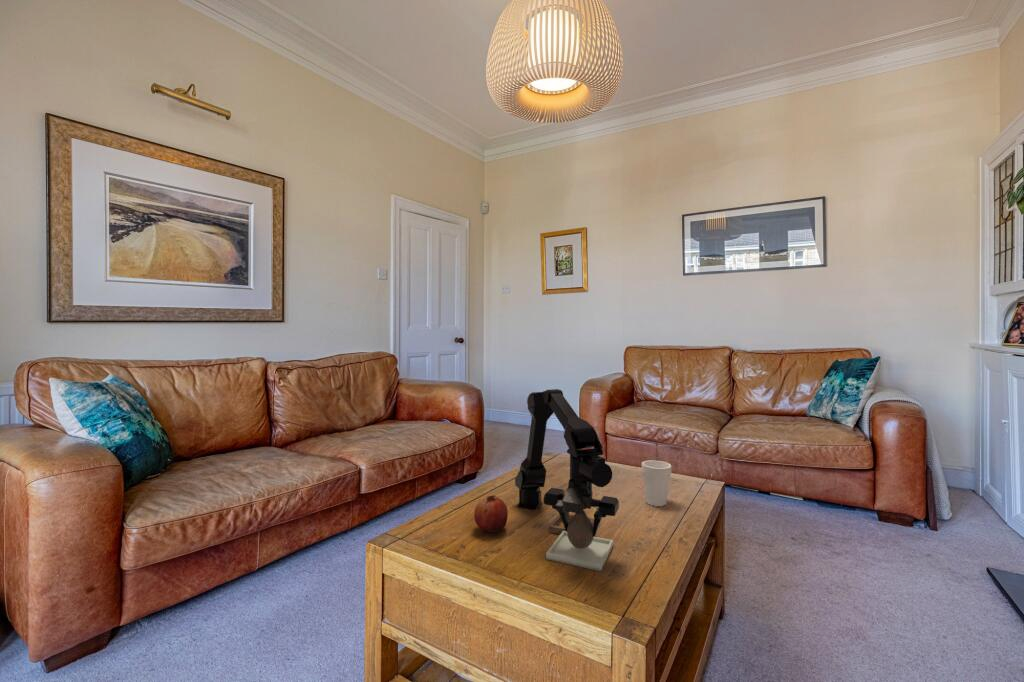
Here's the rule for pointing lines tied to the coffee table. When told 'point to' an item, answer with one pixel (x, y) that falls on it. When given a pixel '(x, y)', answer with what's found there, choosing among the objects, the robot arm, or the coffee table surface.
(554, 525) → the holder
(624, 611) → the coffee table surface
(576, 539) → the vase
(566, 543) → the tray
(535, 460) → the robot arm
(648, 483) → the foam cup
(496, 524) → the fruit
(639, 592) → the coffee table surface
